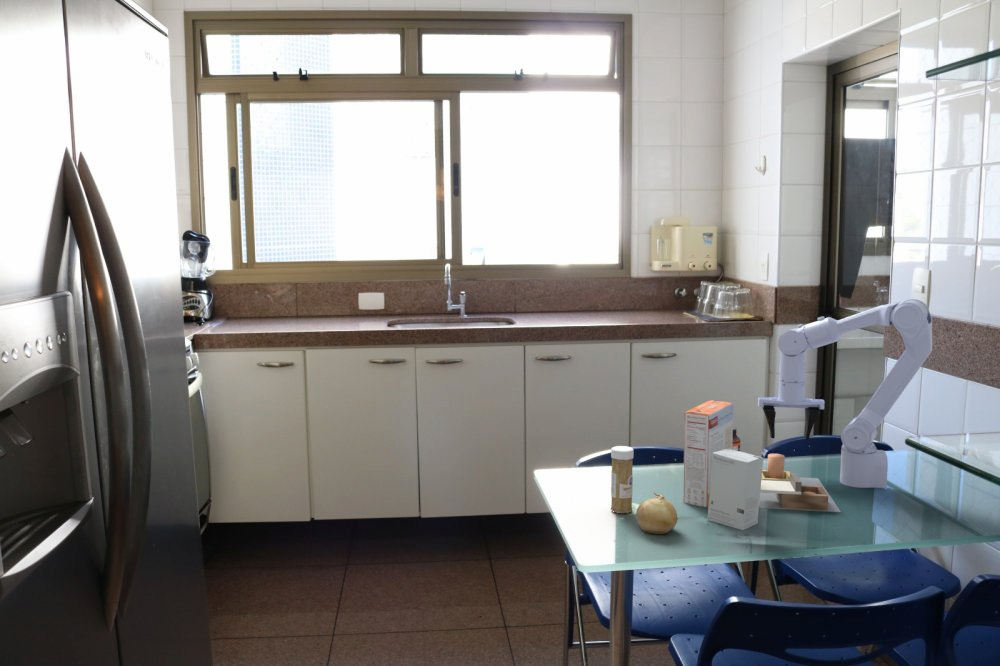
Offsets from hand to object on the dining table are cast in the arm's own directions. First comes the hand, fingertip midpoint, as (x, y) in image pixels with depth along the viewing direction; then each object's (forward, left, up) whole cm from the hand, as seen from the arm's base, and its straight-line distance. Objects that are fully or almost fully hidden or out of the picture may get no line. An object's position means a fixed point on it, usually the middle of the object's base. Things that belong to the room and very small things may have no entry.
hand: (789, 437), depth 198 cm
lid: (+6, +23, -5) cm, 24 cm away
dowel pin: (+4, +8, -8) cm, 12 cm away
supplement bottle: (+14, 0, -10) cm, 17 cm away
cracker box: (+20, +21, -10) cm, 31 cm away
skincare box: (+16, +36, -10) cm, 41 cm away
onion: (+31, +40, -10) cm, 52 cm away
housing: (+1, +23, -8) cm, 24 cm away
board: (+2, +16, -9) cm, 18 cm away
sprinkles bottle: (+38, +30, -10) cm, 49 cm away
